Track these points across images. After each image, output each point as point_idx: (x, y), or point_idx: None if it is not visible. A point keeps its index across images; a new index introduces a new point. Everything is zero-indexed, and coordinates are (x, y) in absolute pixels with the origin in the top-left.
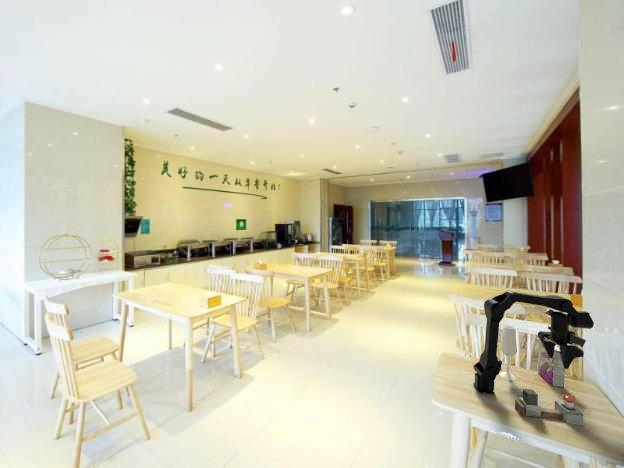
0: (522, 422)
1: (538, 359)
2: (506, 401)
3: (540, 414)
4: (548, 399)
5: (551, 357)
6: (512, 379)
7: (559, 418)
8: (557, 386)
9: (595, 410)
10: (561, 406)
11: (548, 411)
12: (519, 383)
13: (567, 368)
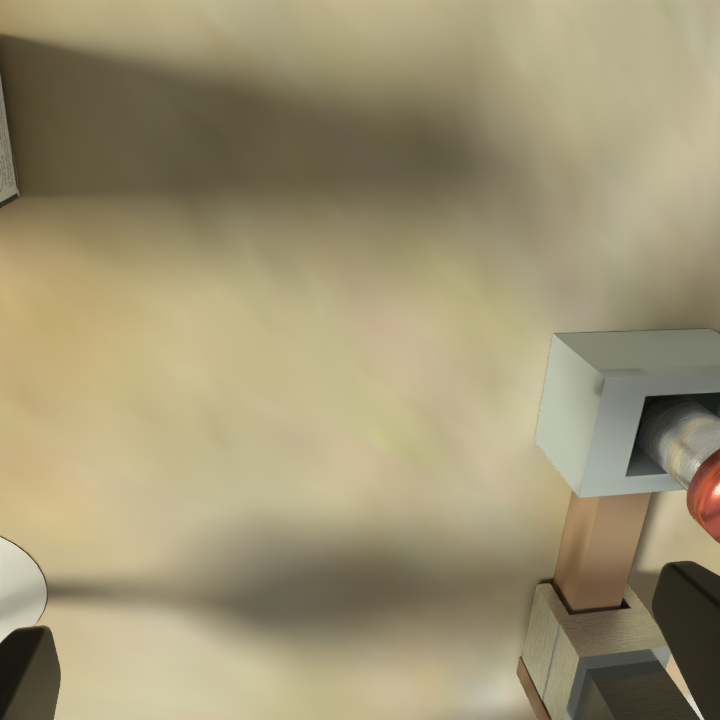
0: None
1: None
2: (441, 696)
3: (633, 592)
4: (361, 400)
5: (46, 662)
6: (31, 574)
7: None
8: (6, 126)
9: (509, 8)
10: (662, 486)
11: (628, 547)
12: (95, 533)
13: (700, 579)
